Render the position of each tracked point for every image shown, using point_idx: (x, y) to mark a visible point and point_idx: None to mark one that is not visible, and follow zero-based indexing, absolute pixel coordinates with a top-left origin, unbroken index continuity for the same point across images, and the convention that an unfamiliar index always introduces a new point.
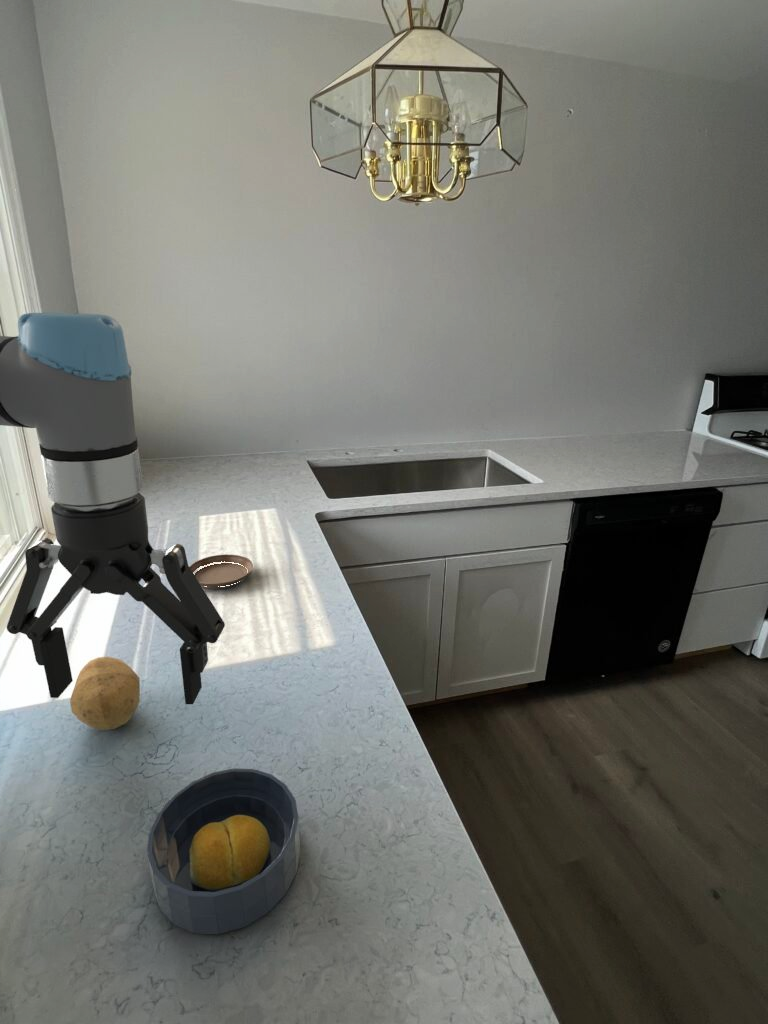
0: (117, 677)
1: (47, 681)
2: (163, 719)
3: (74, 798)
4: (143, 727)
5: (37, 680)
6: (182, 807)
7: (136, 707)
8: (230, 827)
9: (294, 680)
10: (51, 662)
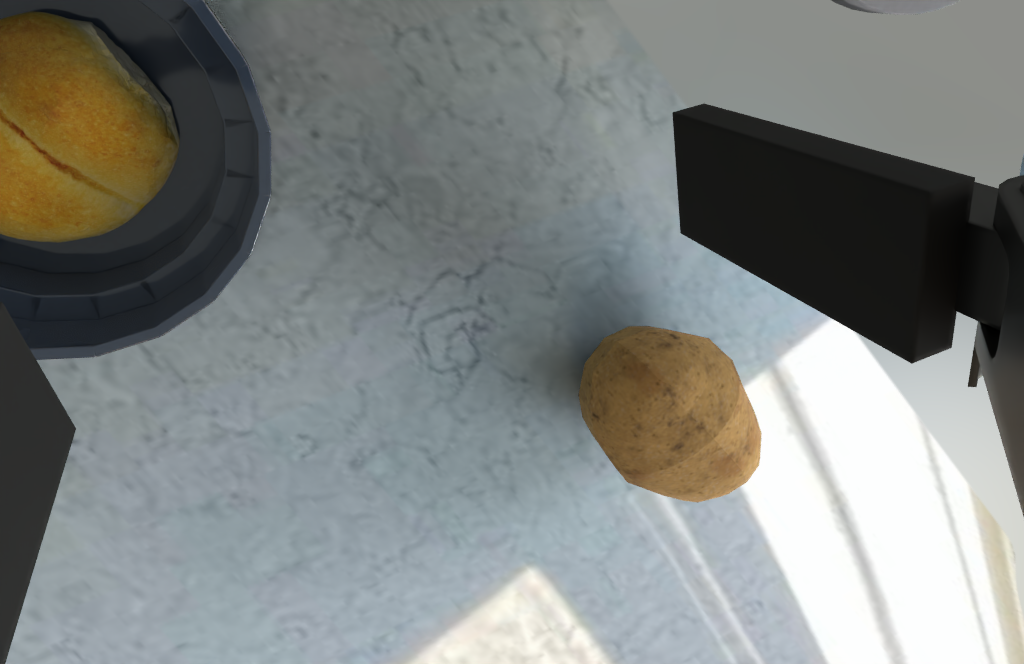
0: (665, 452)
1: (761, 119)
2: (517, 420)
3: (566, 167)
4: (546, 384)
5: (833, 394)
6: (250, 193)
7: (582, 412)
8: (61, 180)
9: (278, 652)
10: (809, 161)
